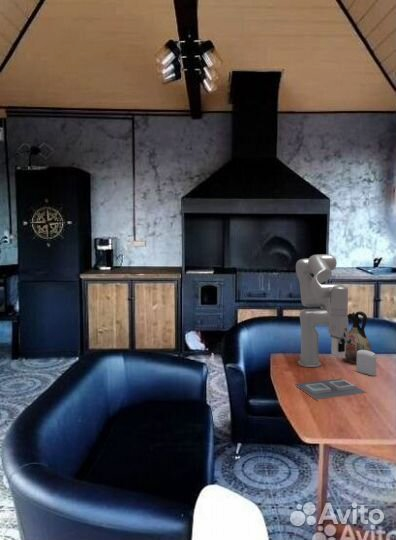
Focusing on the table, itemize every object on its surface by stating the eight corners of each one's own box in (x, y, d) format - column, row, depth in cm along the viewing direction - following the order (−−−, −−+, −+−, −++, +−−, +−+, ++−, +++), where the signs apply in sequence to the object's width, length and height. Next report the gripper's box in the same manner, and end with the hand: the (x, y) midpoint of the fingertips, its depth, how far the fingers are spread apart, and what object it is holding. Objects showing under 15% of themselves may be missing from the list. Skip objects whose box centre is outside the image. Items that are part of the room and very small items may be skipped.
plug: (331, 353, 207) (331, 337, 206) (341, 352, 209) (342, 336, 208) (336, 355, 203) (336, 339, 203) (346, 354, 205) (347, 338, 204)
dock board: (294, 386, 212) (294, 381, 212) (340, 380, 220) (340, 375, 219) (317, 401, 193) (317, 396, 193) (366, 394, 201) (366, 389, 200)
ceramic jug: (336, 361, 251) (337, 310, 248) (351, 356, 261) (353, 306, 258) (362, 368, 238) (364, 314, 235) (378, 362, 247) (379, 311, 244)
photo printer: (354, 371, 232) (355, 349, 231) (359, 370, 235) (359, 347, 234) (373, 376, 224) (373, 353, 223) (377, 374, 227) (377, 351, 226)
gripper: (322, 309, 211) (321, 346, 213) (343, 316, 195) (342, 355, 197) (335, 308, 213) (334, 345, 215) (357, 315, 197) (356, 354, 199)
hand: (338, 349), depth 206 cm, fingers closed on plug, 4 cm apart
